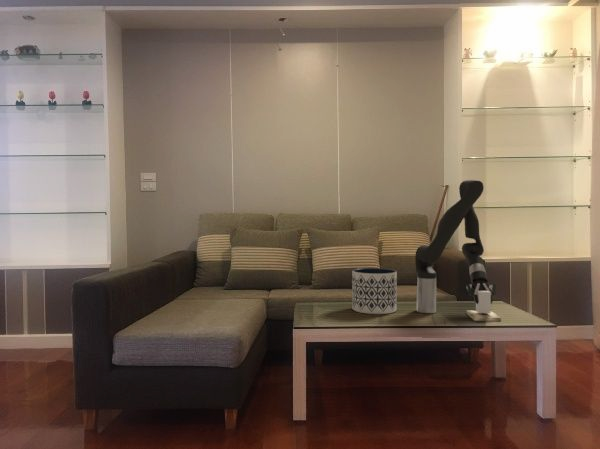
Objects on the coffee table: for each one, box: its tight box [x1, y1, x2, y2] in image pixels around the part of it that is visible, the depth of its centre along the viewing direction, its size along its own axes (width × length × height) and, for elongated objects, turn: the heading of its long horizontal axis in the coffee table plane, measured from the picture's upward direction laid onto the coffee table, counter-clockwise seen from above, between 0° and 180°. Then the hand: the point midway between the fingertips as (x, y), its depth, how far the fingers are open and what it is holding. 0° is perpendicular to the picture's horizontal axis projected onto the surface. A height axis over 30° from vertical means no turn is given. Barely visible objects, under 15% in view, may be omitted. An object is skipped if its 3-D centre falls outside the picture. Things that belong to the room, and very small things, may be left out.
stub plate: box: [465, 309, 502, 322], centre depth 238 cm, size 12×16×6 cm
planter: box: [351, 267, 398, 315], centre depth 254 cm, size 22×22×20 cm
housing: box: [475, 290, 492, 313], centre depth 238 cm, size 5×5×10 cm
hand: (484, 302), depth 237 cm, fingers closed on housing, 5 cm apart
